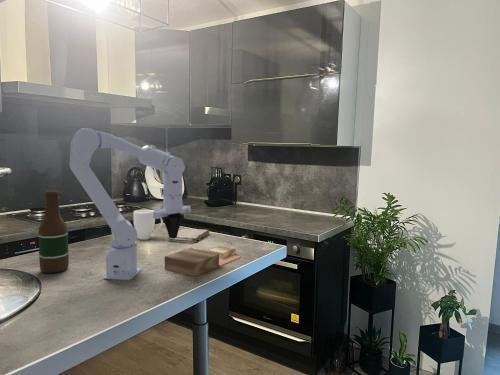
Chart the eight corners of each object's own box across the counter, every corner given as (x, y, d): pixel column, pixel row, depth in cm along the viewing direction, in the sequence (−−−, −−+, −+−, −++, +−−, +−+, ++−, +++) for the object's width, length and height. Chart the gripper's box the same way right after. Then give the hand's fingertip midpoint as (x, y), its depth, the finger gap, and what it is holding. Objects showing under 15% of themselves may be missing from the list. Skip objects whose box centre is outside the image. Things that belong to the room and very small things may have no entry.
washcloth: (165, 243, 145) (165, 235, 145) (184, 233, 163) (184, 226, 162) (193, 245, 142) (193, 237, 142) (209, 235, 160) (209, 228, 159)
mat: (220, 266, 117) (220, 265, 117) (189, 259, 124) (189, 257, 123) (241, 257, 127) (241, 256, 127) (211, 251, 134) (211, 250, 134)
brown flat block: (194, 277, 107) (194, 263, 106) (164, 268, 113) (164, 256, 113) (218, 266, 117) (219, 254, 116) (190, 259, 123) (190, 247, 123)
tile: (235, 248, 130) (235, 253, 130) (222, 245, 133) (222, 250, 133) (222, 253, 123) (222, 259, 123) (208, 250, 126) (208, 255, 126)
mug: (130, 240, 146) (129, 212, 145) (139, 235, 154) (138, 208, 153) (158, 242, 144) (158, 213, 143) (166, 237, 153) (166, 210, 151)
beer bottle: (74, 266, 113) (72, 190, 111) (55, 274, 106) (52, 192, 103) (54, 263, 115) (51, 188, 113) (33, 271, 108) (30, 191, 105)
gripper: (165, 198, 104) (165, 244, 106) (198, 193, 117) (197, 235, 118) (147, 196, 108) (148, 240, 110) (181, 191, 120) (181, 232, 122)
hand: (172, 237), depth 114 cm, fingers closed
